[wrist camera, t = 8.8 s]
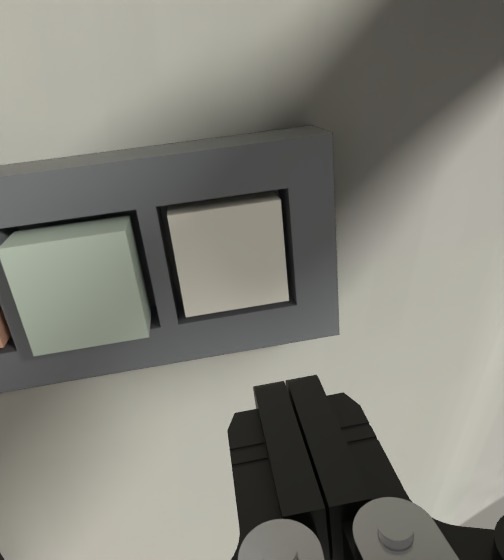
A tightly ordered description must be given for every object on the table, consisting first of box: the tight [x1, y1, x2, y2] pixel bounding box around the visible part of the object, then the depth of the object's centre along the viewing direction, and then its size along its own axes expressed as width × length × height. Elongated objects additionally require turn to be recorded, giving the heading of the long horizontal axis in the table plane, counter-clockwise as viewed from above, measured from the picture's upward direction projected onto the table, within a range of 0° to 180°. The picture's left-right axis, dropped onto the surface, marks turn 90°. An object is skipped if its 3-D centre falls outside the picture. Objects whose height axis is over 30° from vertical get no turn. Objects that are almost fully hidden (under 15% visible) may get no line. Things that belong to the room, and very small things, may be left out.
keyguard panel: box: [0, 125, 339, 393], centre depth 28 cm, size 28×12×4 cm, turn 96°
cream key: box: [167, 190, 289, 317], centre depth 28 cm, size 6×6×3 cm
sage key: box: [0, 215, 151, 356], centre depth 25 cm, size 6×6×3 cm
